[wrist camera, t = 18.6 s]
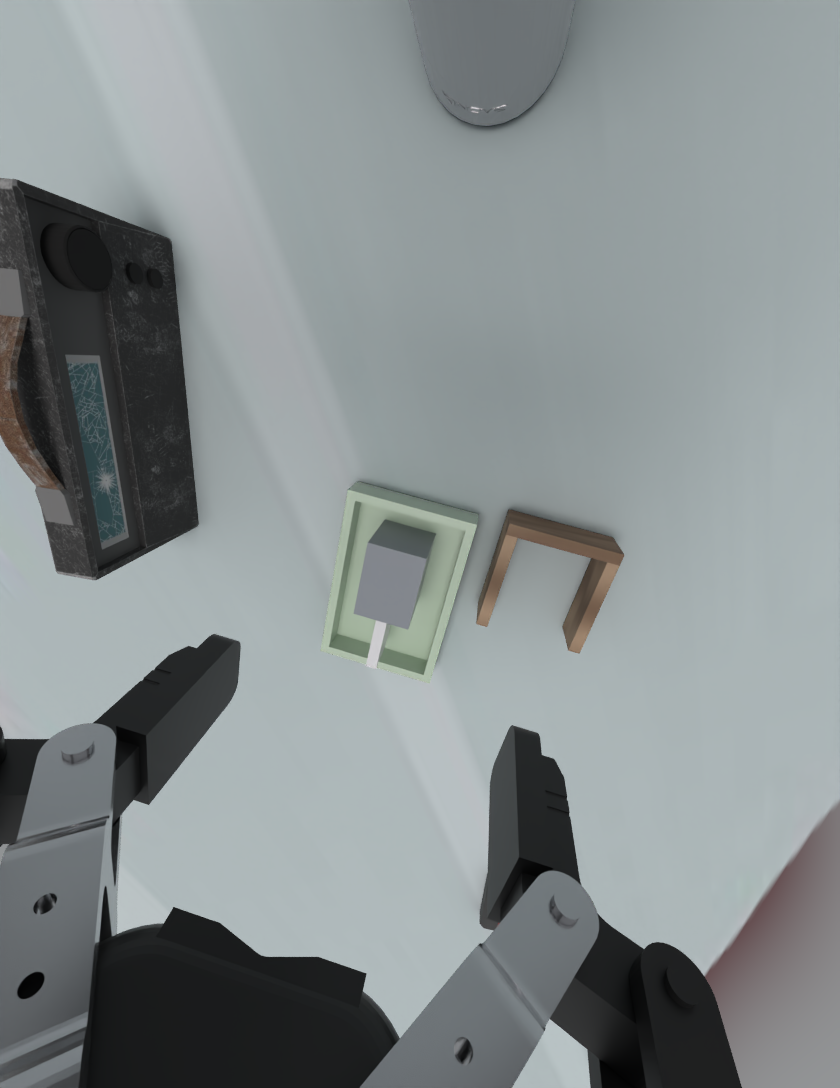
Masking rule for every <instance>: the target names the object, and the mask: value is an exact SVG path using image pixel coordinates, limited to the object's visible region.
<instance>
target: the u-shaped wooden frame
mask: <svg viewBox="0 0 840 1088" xmlns="http://www.w3.org/2000/svg"><path fill="white" fill-rule="evenodd" d="M518 538H520V539H524V540H527V541H531V542H535V543H538V544H542V545H546V546H549V547H553V548H557V549H560V550H564V551H567V552H571V553H575V554H578V555H582V556H586V557H589V558H592V559H591V561H590V563H589V566H588V568H587V570H586V573H585V575H584V577H583V580H582V582H581V584H580V587H579V589H578V591H577V594H576V596H575V598H574V601H573V603H572V605H571V608H570V610H569V613H568V615H567V617H566V620H565V622H564V624H563V631H564V635H565V639H566V643H567V647H568V650H569V651H572V652H575V653H580V651H581V649H582V647H583V645H584V642H585V640H586V638H587V636H588V634H589V631H590V629H591V627H592V625H593V623H594V620H595V618H596V616H597V614H598V612H599V610H600V607H601V605H602V603H603V601H604V599H605V596H606V594H607V592H608V590H609V588H610V586H611V583H612V581H613V579H614V577H615V575H616V572H617V570H618V568H619V566H620V564H621V561H622V559H623V557H624V553H623V552H622V550H621V549H620V547H619V546H618V544H617V543H616V541H615V540H614V538H613V537H609V536H606V535H602V534H598V533H594V532H591V531H587V530H583V529H580V528H576V527H572V526H569V525H565V524H561V523H557V522H554V521H550V520H546V519H543V518H539V517H535V516H532V515H528V514H524V513H520V512H517V511H513V510H508V513H507V516H506V519H505V522H504V525H503V528H502V531H501V534H500V537H499V540H498V543H497V546H496V550H495V553H494V556H493V559H492V562H491V565H490V568H489V571H488V574H487V577H486V580H485V583H484V586H483V589H482V592H481V595H480V599H479V602H478V610H477V622H476V624H478V625H482V626H485V627H487V626H488V623H489V620H490V617H491V614H492V611H493V608H494V605H495V602H496V600H497V597H498V594H499V591H500V588H501V585H502V582H503V579H504V576H505V573H506V571H507V568H508V565H509V562H510V559H511V556H512V553H513V550H514V547H515V544H516V542H517V539H518Z"/></svg>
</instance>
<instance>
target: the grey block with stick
mask: <svg viewBox="0 0 840 1088" xmlns="http://www.w3.org/2000/svg"><path fill="white" fill-rule="evenodd" d="M435 536H436V533H432V532H429V531H425V530H421V529H418V528H414V527H411V526H407V525H404V524H400V523H396V522H393V521H389V520H386V519H385V520H384V521H383V523H382V524H381V525H380V527H379V528H378V529H377V531H376V532H375V533H374V535H373V536H372V537H371V539H370V540H369V541H368V543H367V548H366V553H365V558H364V563H363V568H362V573H361V578H360V583H359V588H358V593H357V598H356V603H355V608H354V613H353V614H356V615H360V616H363V617H366V618H370V619H373V620H376V622H375V627H374V631H373V636H372V640H371V645H370V649H369V653H368V658H367V662H366V666H368V667H371V668H374V669H376V668H377V665H378V663H379V660H380V658H381V655H382V653H383V650H384V648H385V645H386V642H387V638H388V634H389V630H390V625H394V626H397V627H400V628H404V629H407V630H408V629H409V626H410V623H411V620H412V617H413V614H414V611H415V608H416V606H417V603H418V600H419V597H420V593H421V589H422V585H423V582H424V578H425V574H426V570H427V566H428V563H429V559H430V555H431V551H432V548H433V544H434V540H435Z"/></svg>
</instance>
